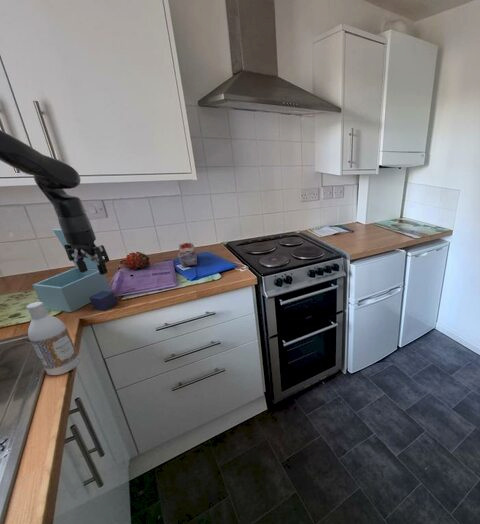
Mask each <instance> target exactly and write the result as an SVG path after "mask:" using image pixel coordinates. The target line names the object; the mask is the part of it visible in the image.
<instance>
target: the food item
mask: <svg viewBox="0 0 480 524" xmlns="http://www.w3.org/2000/svg"><path fill="white" fill-rule="evenodd" d="M177 257H178V260H179V263H180V264H181V266H182V267H192V266H193V267H194V266H197V265H198V256H197V251H196V248H195V245H194V243H192V242H183V243H180V244H179V245H178V250H177Z"/></svg>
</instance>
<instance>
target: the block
mask: <svg viewBox="0 0 480 524" xmlns="http://www.w3.org/2000/svg"><path fill="white" fill-rule="evenodd" d="M89 298H90V300H91V302H90V303H91V306H92V308H93V310H97V311H104V312H107V311H108V310H110V309H111V308H113V307H114V306H117V305H118V304H119V303H118V301H117V298H116V295H115V292H114V291H111V292H108V291H101V292H99V293H97V294H95V295H93V296H91V297H89Z"/></svg>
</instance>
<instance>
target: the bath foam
mask: <svg viewBox="0 0 480 524" xmlns="http://www.w3.org/2000/svg"><path fill="white" fill-rule="evenodd" d="M26 309H27V311H28V314H29V316H30V317H31V321H30V323H29V326H28V328H27V336H28V339H29V341H30V343H31V345H32V347H33V349H34V351H35V353H36V355H37V357H38V358H39V360H40V362H41V365H42V367H43V369H44V370H45V372H46V373H47V375H50V376H60V375H63V374H66V373H68V372H70V371H73V370H74V369H76V367H78V366H79V364H80V363H81V358H80V356H79V353H78V351H77V349H76V346H75V344H74V342H73V340H72V337H71V335H70V333H69V330H68V329H67V326H66V325H65V323H64V322H63V321H62V320H61V319H60V318H58V317H56V316H53V315H51V314H50V313H48V311H47V309H46V308H45V306H44V304H43V302H40V301H34V302H31V303H28V305H26Z"/></svg>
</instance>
